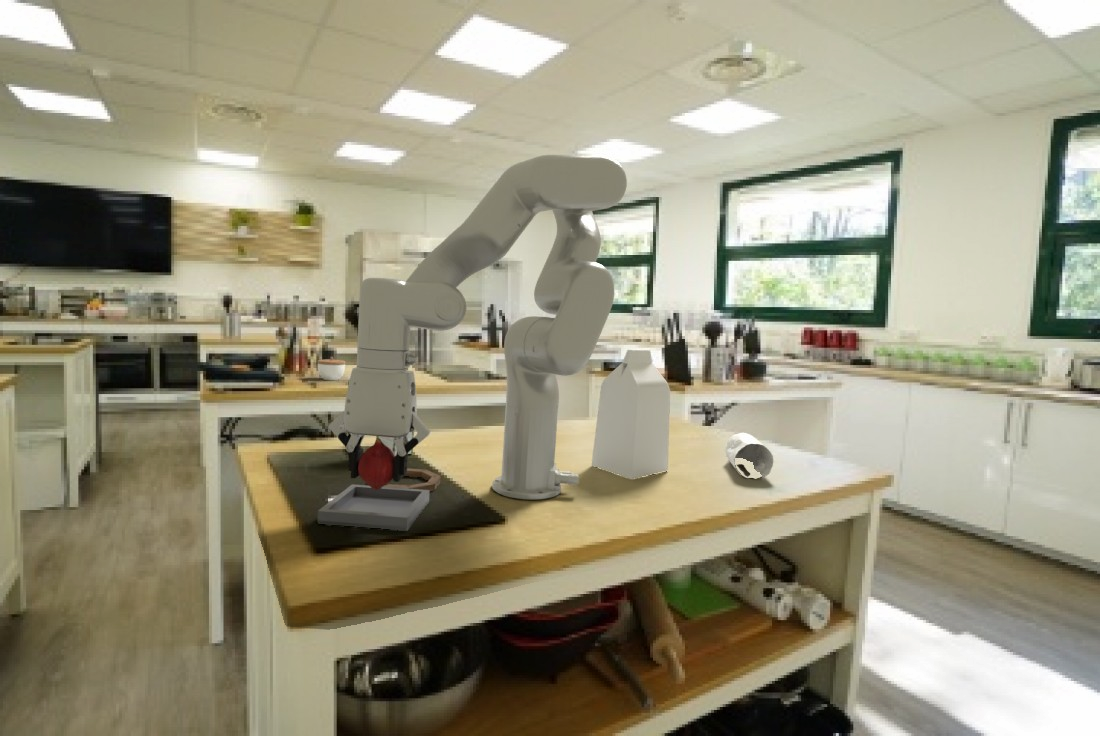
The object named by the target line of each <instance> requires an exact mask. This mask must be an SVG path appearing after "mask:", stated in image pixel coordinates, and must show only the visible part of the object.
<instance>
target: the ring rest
mask: <svg viewBox="0 0 1100 736" xmlns="http://www.w3.org/2000/svg"><path fill="white" fill-rule="evenodd" d="M404 476H409V477H408V478H417V477H422V478H421V479H423V478H424V480H426V481H427V480H428V481H427V482H421V483H416V484H411V485H402V484H389V483H388V484H386V485H385V486H383V487H394V488H407V489H421V490H430V492H434V491H436V489H437V488H438V487H439V485H440V484H441V479H442V478H441V477H442V476H441V475H440V474H438V473H435V472H433V471H430V470H428V469H424V468H423V469H422V468H421V469H420V468H409V467H407V472H406V475H403V477H404ZM367 486H369V485H368V484H367ZM437 486H438V487H437Z"/></svg>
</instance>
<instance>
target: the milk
mask: <svg viewBox="0 0 1100 736" xmlns="http://www.w3.org/2000/svg"><path fill="white" fill-rule="evenodd" d="M651 353H652V352H651V350H650V349H649V350H648V349H627V350H626V352H625V355H624V357H623V360H622V363H620V364H619V365H618V366H617V367H616V368H615V369H614V370H613V371H611V372H610V373H609V374H608V375H606V377H605V378H604V379H603V381H602V383H601V386H600V393H599V394H600V395H599V401H598V409H597V418H596V427H595V433H594V434H595V435H594V440H593V441H594V442H593V450H592V459H591V465H592V466H595V467H599V468H601V469H604V470H607V471H610V472H613V473H615V474H614V475H616V474H619V475H621V476H620V477H622V476H624V477H623V478H625V477H627V478H626V479H628V478H630V479H629V480H631V479H633V480H635V479H634V478H638V477H642V476H646V475H650V474H654V473H658V472H662V471H666V470H668V471H669V445H670V443H669V442H670V408H671V407H670V406H671V388H670V386H669V383H668V382H667V380H666V379H665V378H664V376H663V375H662V374H661V372H660V371H659V370H658V369H657V367H656V366H655V364H654V363H653V359H652V354H651ZM592 466H591V467H592ZM595 467H594V468H595ZM601 469H600V470H601ZM604 470H603V471H604ZM607 471H606V472H607ZM610 472H609V473H610ZM613 473H612V474H613ZM619 475H618V476H619ZM638 479H639V478H638Z"/></svg>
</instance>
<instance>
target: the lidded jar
mask: <svg viewBox="0 0 1100 736" xmlns="http://www.w3.org/2000/svg"><path fill="white" fill-rule="evenodd" d="M345 369H346V360H342V359H334V356H330V359H329V358H328V359H327V358H326V359H318V360H317V370H318V374H319V376H320V377H321V378H322V379H323V381H339V380H340V379H341V378H342V377H343V375H344V374H345ZM338 379H339V380H338Z"/></svg>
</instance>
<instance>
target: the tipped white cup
mask: <svg viewBox="0 0 1100 736" xmlns="http://www.w3.org/2000/svg"><path fill="white" fill-rule="evenodd" d="M724 451H725V457H726V458H727V460H728V461H729V462H730V463H731V465H732V466H733V467H734V469H735V470H736V471H737V473H738V474H739V475H740V476H741V473H740V472H739V471H738V470H737V468H736V465H735V458H743V459H746V460H747V461H750V462H753V465H754V469H755V470H756V471H757V472H760V474H761V475H762V476H763V477H762V478H765V477H767V476H768V475H770V473H771V471H772V468H773V467H774V455H773V453H772V452H771V451H770V449H768V447H766V446H765V445H764V444H763V443H762V442H760V441H759V439H757V438H756V437H754V436H753V435H752V434H749V433H746V432H740V433H736V434H733V435H732V436H730V437H729V438H728V441H727V443H726V446H725V449H724Z"/></svg>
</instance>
